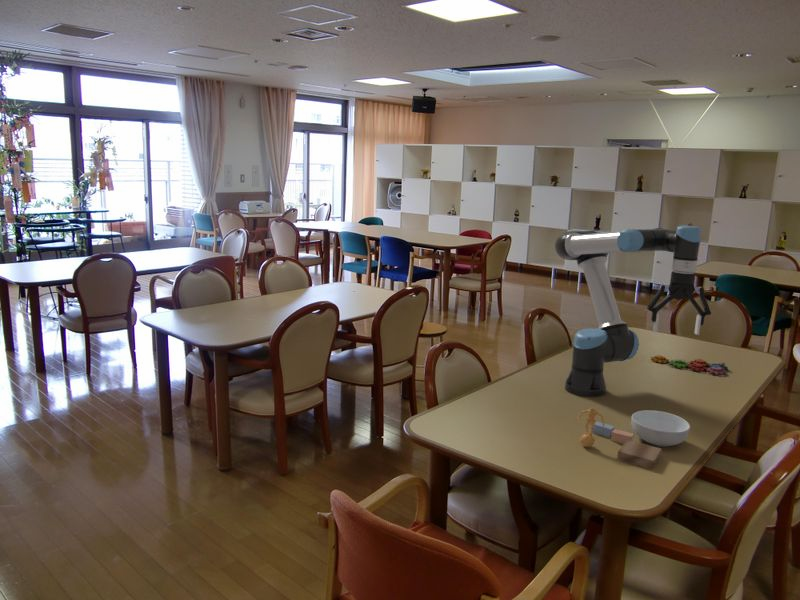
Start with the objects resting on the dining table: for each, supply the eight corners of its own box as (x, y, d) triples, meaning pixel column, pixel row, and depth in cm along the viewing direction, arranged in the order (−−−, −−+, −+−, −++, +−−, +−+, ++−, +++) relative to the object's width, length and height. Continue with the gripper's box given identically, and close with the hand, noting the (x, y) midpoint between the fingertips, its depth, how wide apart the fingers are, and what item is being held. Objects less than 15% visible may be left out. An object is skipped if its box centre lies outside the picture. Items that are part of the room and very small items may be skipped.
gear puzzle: (647, 364, 279) (648, 355, 278) (654, 356, 292) (655, 347, 291) (724, 378, 263) (726, 369, 262) (728, 369, 276) (730, 360, 275)
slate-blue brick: (591, 432, 202) (592, 423, 202) (595, 429, 205) (596, 421, 204) (609, 438, 199) (610, 429, 198) (613, 435, 201) (614, 426, 200)
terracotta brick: (610, 441, 197) (611, 432, 196) (613, 437, 199) (614, 428, 198) (630, 446, 193) (631, 436, 193) (632, 442, 196) (633, 433, 195)
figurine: (571, 445, 192) (575, 408, 189) (577, 438, 197) (580, 402, 194) (599, 452, 188) (603, 414, 185) (603, 445, 193) (607, 408, 190)
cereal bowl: (619, 439, 197) (622, 418, 196) (643, 426, 209) (645, 406, 207) (673, 458, 185) (676, 436, 184) (695, 442, 197) (698, 421, 196)
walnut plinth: (617, 460, 184) (618, 451, 183) (626, 449, 192) (627, 439, 191) (652, 470, 178) (654, 460, 178) (660, 458, 186) (661, 448, 186)
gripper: (647, 271, 211) (640, 332, 216) (726, 275, 207) (717, 338, 212) (642, 268, 218) (635, 327, 223) (719, 272, 214) (710, 332, 219)
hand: (675, 332), depth 217 cm, fingers open, 13 cm apart
